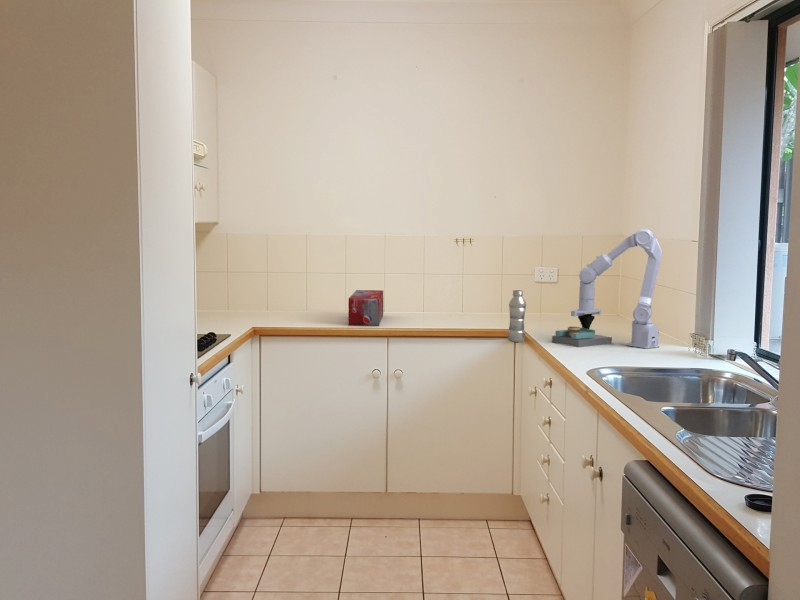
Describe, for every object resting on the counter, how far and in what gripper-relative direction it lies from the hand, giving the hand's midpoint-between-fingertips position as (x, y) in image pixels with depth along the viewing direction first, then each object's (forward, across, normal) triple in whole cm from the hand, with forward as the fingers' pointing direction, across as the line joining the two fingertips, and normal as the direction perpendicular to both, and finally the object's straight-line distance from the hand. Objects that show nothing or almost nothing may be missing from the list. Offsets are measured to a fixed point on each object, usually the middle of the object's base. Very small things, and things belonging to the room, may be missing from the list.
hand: (585, 333), depth 317 cm
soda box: (+4, +39, -98) cm, 106 cm away
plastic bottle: (+3, +24, -13) cm, 27 cm away
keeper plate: (+1, +6, 0) cm, 6 cm away
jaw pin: (+3, +6, 0) cm, 7 cm away
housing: (+3, +2, 0) cm, 4 cm away
